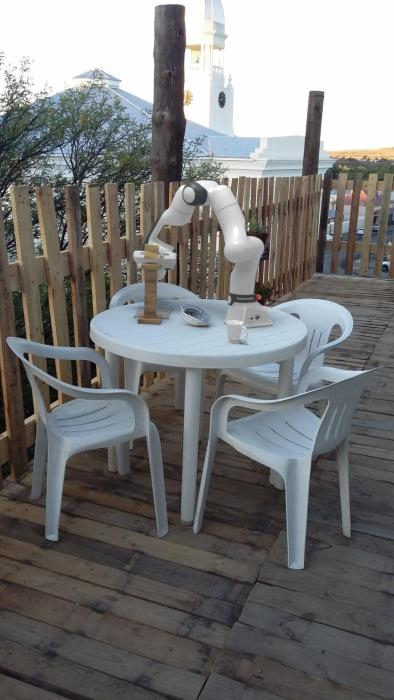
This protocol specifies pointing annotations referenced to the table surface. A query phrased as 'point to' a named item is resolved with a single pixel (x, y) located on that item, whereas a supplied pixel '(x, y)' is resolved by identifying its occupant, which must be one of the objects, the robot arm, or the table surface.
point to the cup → (235, 331)
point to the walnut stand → (150, 294)
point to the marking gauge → (151, 251)
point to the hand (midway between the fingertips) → (154, 251)
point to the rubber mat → (159, 311)
